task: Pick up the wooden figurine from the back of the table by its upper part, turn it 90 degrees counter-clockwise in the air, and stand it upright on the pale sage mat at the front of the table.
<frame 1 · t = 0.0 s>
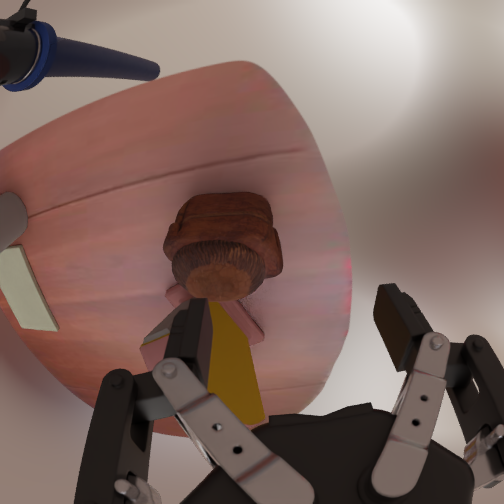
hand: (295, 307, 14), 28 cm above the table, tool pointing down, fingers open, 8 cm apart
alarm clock: (217, 312, 50), on the table
mat: (21, 290, 48), on the table
cup: (12, 213, 40), on the table
wooden figurine: (230, 210, 41), on the table
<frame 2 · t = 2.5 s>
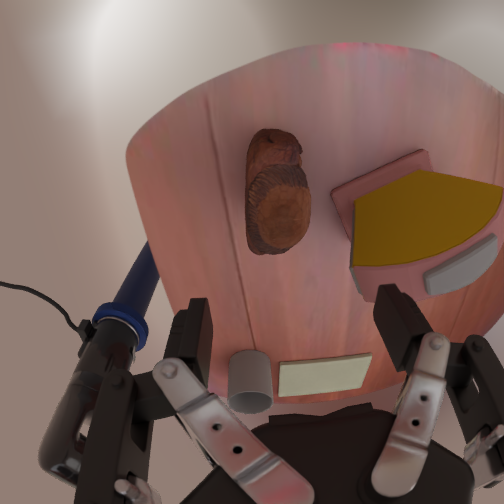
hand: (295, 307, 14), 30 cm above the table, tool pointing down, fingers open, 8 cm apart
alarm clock: (386, 194, 42), on the table
mat: (323, 375, 62), on the table
cup: (249, 362, 59), on the table
wooden figurine: (269, 166, 40), on the table
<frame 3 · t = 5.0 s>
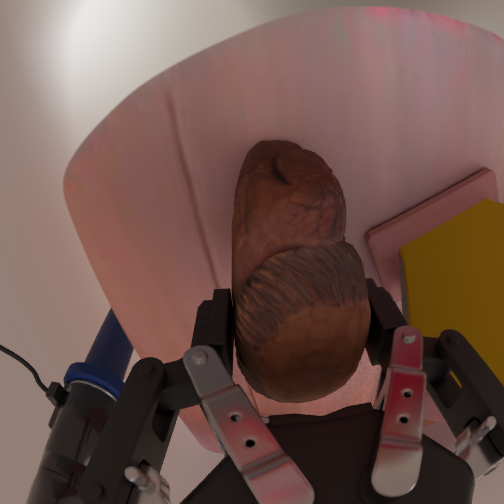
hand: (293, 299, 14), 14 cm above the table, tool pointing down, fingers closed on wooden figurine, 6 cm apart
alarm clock: (439, 231, 28), on the table
wooden figurine: (273, 200, 26), on the table, touching gripper
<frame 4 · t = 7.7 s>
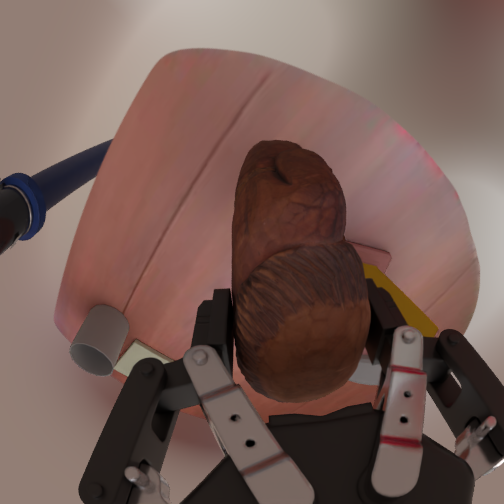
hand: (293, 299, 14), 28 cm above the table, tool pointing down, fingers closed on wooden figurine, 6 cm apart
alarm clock: (333, 264, 46), on the table
mat: (165, 375, 59), on the table
cup: (109, 321, 51), on the table
wooden figurine: (273, 200, 26), point 14 cm above the table, touching gripper
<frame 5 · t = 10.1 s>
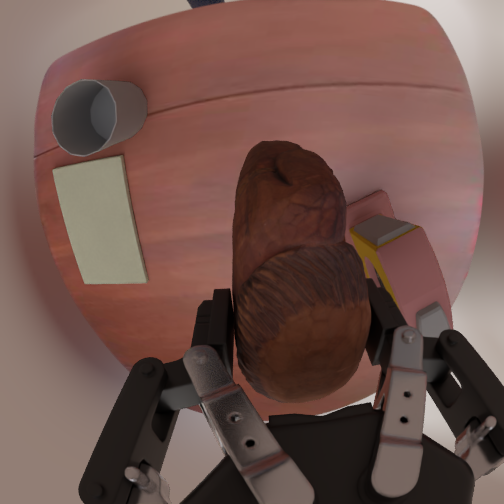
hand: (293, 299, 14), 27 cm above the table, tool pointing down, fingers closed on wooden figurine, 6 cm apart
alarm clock: (371, 246, 44), on the table
mat: (100, 225, 41), on the table
cup: (119, 110, 34), on the table
wooden figurine: (273, 200, 26), point 14 cm above the table, touching gripper
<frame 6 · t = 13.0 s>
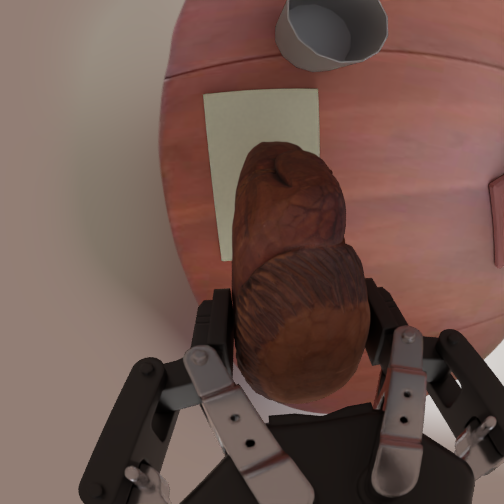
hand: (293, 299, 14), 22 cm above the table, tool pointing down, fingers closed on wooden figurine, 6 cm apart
mat: (265, 177, 34), on the table
cup: (313, 37, 26), on the table
wooden figurine: (273, 201, 26), point 8 cm above the table, touching gripper
when the fingers open (15 cm above the table, at t = 15.3 s): wooden figurine stays where it is, resting on mat.
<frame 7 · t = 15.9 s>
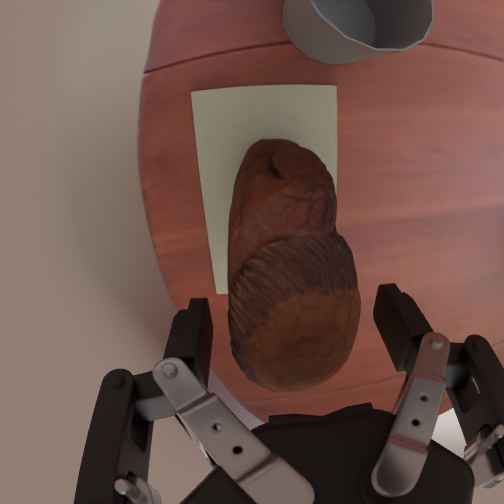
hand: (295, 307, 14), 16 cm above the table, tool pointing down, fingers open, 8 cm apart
mat: (270, 195, 27), on the table
cup: (329, 22, 20), on the table
wooden figurine: (271, 197, 27), point 1 cm above the table, touching mat
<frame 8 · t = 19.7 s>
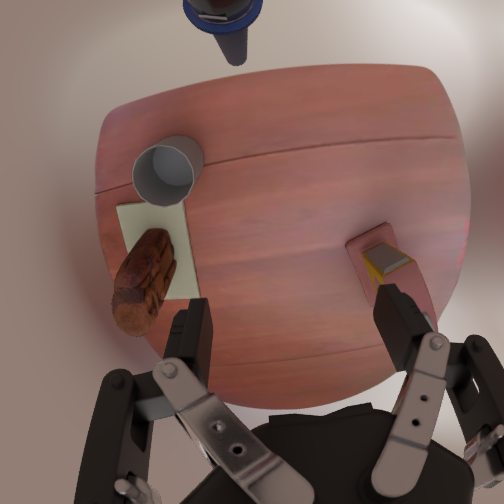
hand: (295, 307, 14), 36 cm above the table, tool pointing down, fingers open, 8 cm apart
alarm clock: (378, 264, 56), on the table
mat: (160, 252, 53), on the table
cup: (178, 160, 45), on the table
wooden figurine: (159, 254, 52), point 1 cm above the table, touching mat
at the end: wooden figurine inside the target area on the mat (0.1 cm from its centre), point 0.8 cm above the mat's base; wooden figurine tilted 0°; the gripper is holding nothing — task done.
